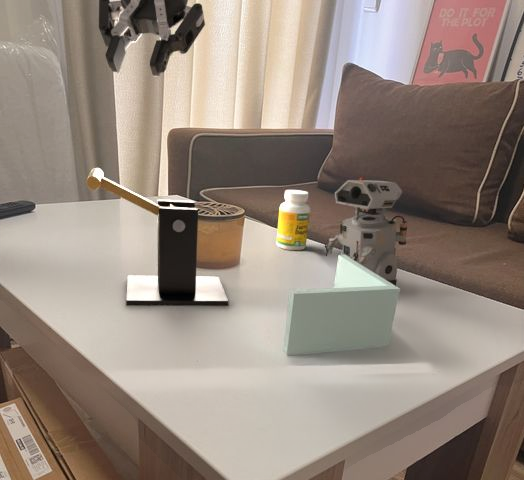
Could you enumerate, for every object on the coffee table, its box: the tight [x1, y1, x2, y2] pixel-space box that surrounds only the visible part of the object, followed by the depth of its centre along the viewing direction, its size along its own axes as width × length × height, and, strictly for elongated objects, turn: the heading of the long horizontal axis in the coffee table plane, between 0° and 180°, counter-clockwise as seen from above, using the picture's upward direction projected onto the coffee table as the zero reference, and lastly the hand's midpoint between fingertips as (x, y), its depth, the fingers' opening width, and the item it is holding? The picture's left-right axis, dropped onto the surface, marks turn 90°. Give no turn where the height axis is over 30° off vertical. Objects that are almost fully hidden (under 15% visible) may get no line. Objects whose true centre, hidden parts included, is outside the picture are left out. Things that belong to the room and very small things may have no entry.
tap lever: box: [85, 167, 176, 217], centre depth 60 cm, size 12×6×2 cm, turn 102°
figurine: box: [324, 177, 408, 287], centre depth 75 cm, size 9×12×15 cm
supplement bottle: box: [276, 189, 311, 251], centre depth 92 cm, size 5×5×10 cm
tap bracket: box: [125, 199, 230, 307], centre depth 64 cm, size 12×9×12 cm
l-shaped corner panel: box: [282, 254, 401, 356], centre depth 59 cm, size 12×12×8 cm
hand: (133, 68), depth 64 cm, fingers open, 4 cm apart
